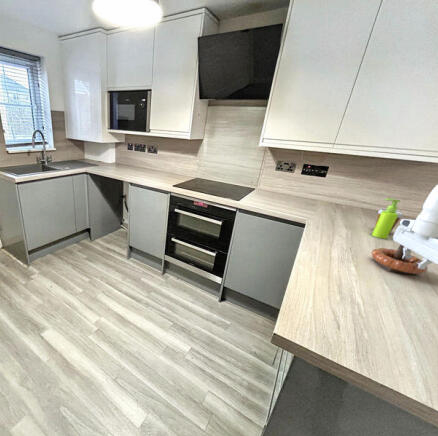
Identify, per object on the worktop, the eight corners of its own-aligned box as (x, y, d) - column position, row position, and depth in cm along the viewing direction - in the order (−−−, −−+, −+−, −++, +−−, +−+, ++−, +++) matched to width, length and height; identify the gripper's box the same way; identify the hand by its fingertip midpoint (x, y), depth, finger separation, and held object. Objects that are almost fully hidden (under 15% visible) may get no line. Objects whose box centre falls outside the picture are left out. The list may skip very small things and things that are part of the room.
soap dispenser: (367, 232, 127) (383, 197, 120) (384, 235, 124) (401, 199, 117) (371, 236, 122) (388, 199, 115) (388, 239, 119) (407, 202, 112)
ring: (402, 257, 98) (406, 249, 97) (436, 278, 84) (441, 269, 83) (361, 252, 100) (365, 244, 99) (388, 271, 86) (393, 263, 85)
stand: (397, 262, 97) (413, 230, 91) (416, 275, 88) (435, 240, 83) (372, 259, 98) (387, 227, 93) (389, 271, 90) (406, 237, 84)
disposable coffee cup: (397, 236, 124) (408, 215, 119) (375, 233, 127) (384, 212, 122) (387, 230, 132) (397, 210, 128) (367, 227, 135) (375, 207, 131)
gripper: (475, 243, 71) (451, 281, 76) (416, 220, 90) (400, 251, 95) (451, 241, 72) (429, 278, 77) (397, 218, 91) (382, 249, 96)
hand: (412, 263), depth 86 cm, fingers open, 4 cm apart
